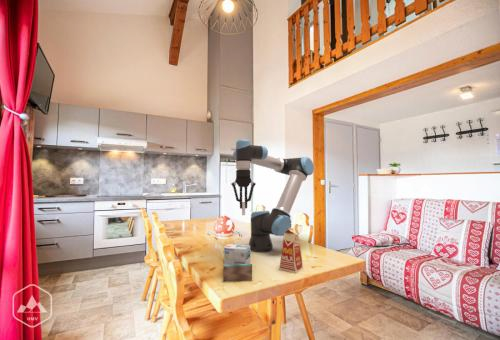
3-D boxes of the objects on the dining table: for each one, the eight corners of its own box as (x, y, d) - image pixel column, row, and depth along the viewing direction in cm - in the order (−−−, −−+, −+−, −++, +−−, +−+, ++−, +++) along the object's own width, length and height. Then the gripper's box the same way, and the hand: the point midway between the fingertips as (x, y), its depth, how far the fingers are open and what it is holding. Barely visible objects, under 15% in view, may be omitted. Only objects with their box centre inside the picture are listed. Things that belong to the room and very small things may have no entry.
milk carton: (296, 273, 112) (296, 228, 113) (278, 269, 117) (277, 227, 118) (303, 267, 120) (303, 225, 121) (286, 264, 125) (285, 224, 125)
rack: (246, 259, 133) (246, 246, 133) (252, 280, 104) (252, 264, 105) (224, 260, 132) (224, 247, 132) (223, 281, 103) (223, 265, 103)
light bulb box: (251, 269, 113) (250, 245, 113) (246, 274, 106) (246, 249, 107) (229, 266, 116) (229, 243, 117) (223, 271, 110) (223, 247, 110)
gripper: (254, 169, 134) (255, 213, 133) (230, 169, 132) (230, 214, 131) (256, 169, 126) (256, 215, 125) (230, 169, 125) (231, 216, 124)
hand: (243, 214), depth 128 cm, fingers closed
